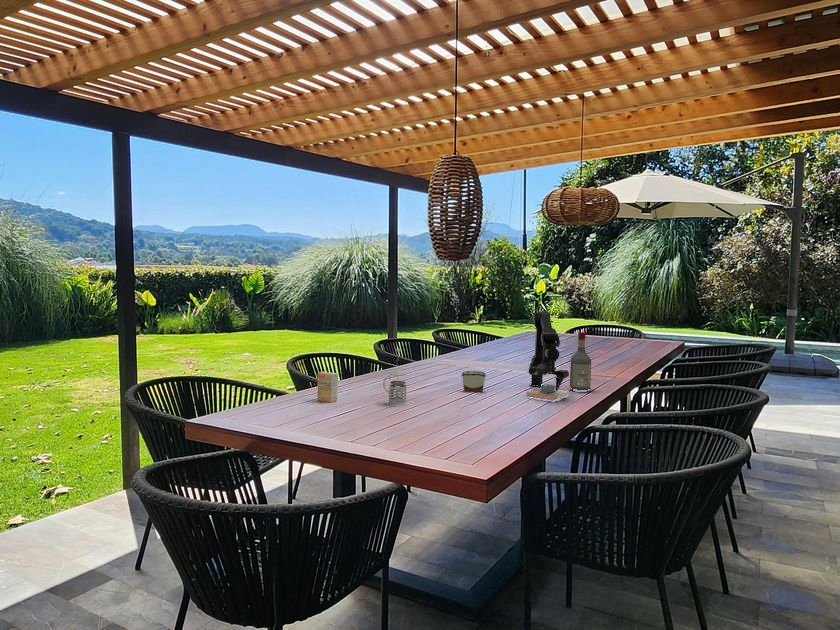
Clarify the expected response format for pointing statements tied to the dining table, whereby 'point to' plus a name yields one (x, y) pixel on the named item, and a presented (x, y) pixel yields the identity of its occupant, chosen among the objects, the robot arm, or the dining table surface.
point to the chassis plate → (560, 392)
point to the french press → (397, 388)
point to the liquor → (580, 366)
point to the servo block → (547, 388)
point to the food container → (473, 381)
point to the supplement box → (327, 386)
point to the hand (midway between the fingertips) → (547, 389)
